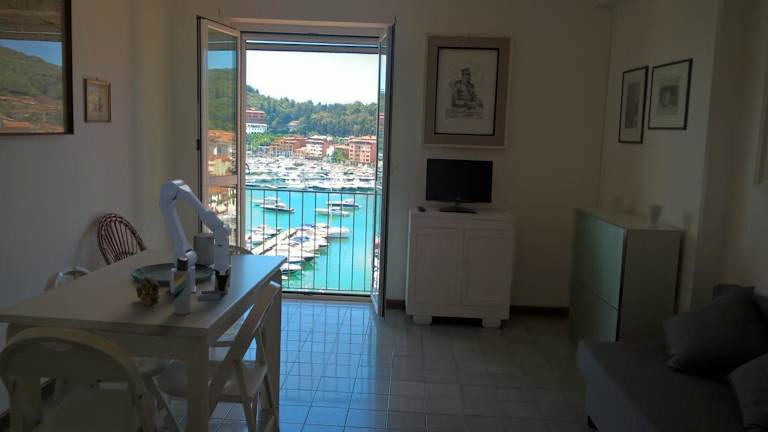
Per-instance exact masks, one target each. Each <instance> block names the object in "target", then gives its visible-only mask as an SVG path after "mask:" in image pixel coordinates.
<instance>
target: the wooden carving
mask: <svg viewBox="0 0 768 432" xmlns="http://www.w3.org/2000/svg"><path fill="white" fill-rule="evenodd" d="M141 283H142V284H141V285H137V286H136V289H135V292H136V295H137V299H140V302H141V303H142V304H143V305H145V306H156V305H158V304H159V299H161V295H160V294H159V290H160V283H158V281H157V279H156V278H155V277H149V276H146V277H145V276H144V277H143V279H142V281H141Z"/></svg>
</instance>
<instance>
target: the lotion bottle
mask: <svg viewBox="0 0 768 432" xmlns="http://www.w3.org/2000/svg"><path fill="white" fill-rule="evenodd" d="M191 296H192V292H191V271H190V270H188V258H187V257H178V259H177V270H175V271H174V293H173V314H174V313H175V314H174V315H177V314H179V316H182V314H185V315H188V313H189V314H190V313H191V307H192V306H191V300H192V299H191Z"/></svg>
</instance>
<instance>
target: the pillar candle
mask: <svg viewBox="0 0 768 432" xmlns="http://www.w3.org/2000/svg"><path fill="white" fill-rule="evenodd" d="M212 233H213V232H207V231H206V232H205V231H203V232H195V233H193V243H192V245H193V247H192V249H193V250H194V251H195V252H196V254H197V261H196V263H194V265H198V264H201V265H202V266H203V265H204V266H207V265H212V264H214V244H215V239H214V238H213V235H212ZM201 265H200V266H201Z"/></svg>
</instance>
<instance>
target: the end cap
mask: <svg viewBox="0 0 768 432" xmlns="http://www.w3.org/2000/svg"><path fill="white" fill-rule="evenodd" d="M203 300H204V301H205V300H207V301H209V300H210V301H211V300H221V294H220V291H219V290H199V301H203Z"/></svg>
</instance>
